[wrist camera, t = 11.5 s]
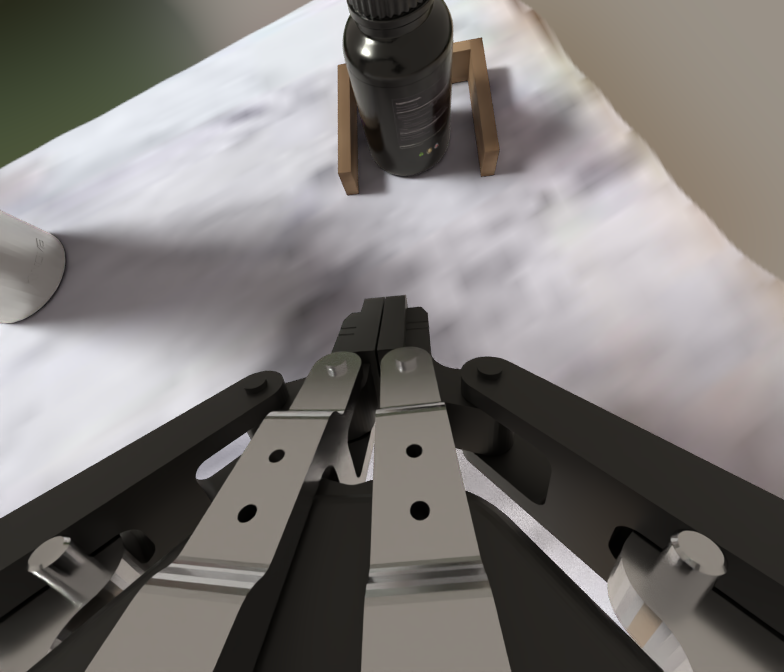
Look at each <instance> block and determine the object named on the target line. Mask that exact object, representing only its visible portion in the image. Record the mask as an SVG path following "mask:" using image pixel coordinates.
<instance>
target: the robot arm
mask: <svg viewBox="0 0 784 672" xmlns="http://www.w3.org/2000/svg"><path fill="white" fill-rule="evenodd" d="M64 268H65V252H64V249H63V246H62V244H61V243H60V241H59V240H58V239H57V238H56V237H55V236H53V235H52V234H50V233H48V232H46V231H44V230H41V229H39V228H37V227H35V226H33V225H31V224H29V223H27V222H24V221H22V220H20V219H18V218H16V217H14V216H12V215H10V214H7V213H5V212H3V211H1V210H0V323H14V322H17V321H20V320H23V319H25V318H27V317H29V316H31V315H32V314H34V313H35V312H36V311H38V310H39V309H40V308H41V307H42V306H43V305H44V304H45V303H46V302H47V301H48V300H49V299H50V298H51V296H52V295H53V294H54V292H55V291H56V289H57V287H58V285H59V283H60V281H61V279H62V276H63V273H64ZM338 335H339V336H338V337H337V340H336V342H335V345H334V347H333V350H332V353H331V354H328V355H326V356H324V357H322V358H321V359H319V360H318V361H317V362H316V363H315V364H314V366H313V367H312V369H311V371H310V373H309V375H308V376H307V377H306V378H303V379H299V380H295V381H292V382H288V383H285V382H284V379H283V377H282V375H281V374H280V373H278V372H275V371H262V372H258V373H255V374H252V375H249V376H247V377H246V378H244V379H242V380H240V381H238V382H237V383H235V384H233V385H232V386H230V387H228V388H226V389H225V390H223V391H221V392H219V393H218V394H216V395H214V396H212V397H211V398H209V399H207V400H205V401H204V402H202V403H200V404H199V405H197V406H195V407H193V408H192V409H190V410H188V411H186V412H185V413H183V414H181V415H179V416H178V417H176V418H174V419H172V420H171V421H169V422H167V423H166V424H164V425H162V426H160V427H159V428H157V429H155V430H153V431H152V432H150V433H148V434H146V435H145V436H143V437H141V438H139V439H138V440H136V441H134V442H133V443H131V444H129V445H127V446H126V447H124V448H122V449H120V450H119V451H117V452H115V453H113V454H112V455H110V456H108V457H106V458H105V459H103V460H101V461H99V462H98V463H96V464H94V465H93V466H91V467H89V468H87V469H86V470H84V471H82V472H80V473H79V474H77V475H75V476H73V477H72V478H70V479H68V480H66V481H65V482H63V483H61V484H60V485H58V486H56V487H54V488H53V489H51V490H49V491H47V492H46V493H44V494H42V495H40V496H39V497H37V498H35V499H33V500H32V501H30V502H28V503H27V504H25V505H23V506H21V507H20V508H18V509H16V510H14V511H13V512H11V513H9V514H7V515H6V516H4V517H2V518H0V672H784V500H783V499H781V498H779V497H777V496H775V495H773V494H771V493H769V492H767V491H765V490H763V489H761V488H759V487H757V486H755V485H753V484H751V483H749V482H747V481H745V480H743V479H741V478H739V477H737V476H735V475H733V474H731V473H729V472H727V471H725V470H723V469H721V468H719V467H717V466H715V465H713V464H711V463H709V462H707V461H705V460H703V459H702V458H700V457H698V456H696V455H694V454H692V453H690V452H688V451H686V450H684V449H682V448H680V447H678V446H676V445H674V444H672V443H670V442H668V441H666V440H664V439H662V438H660V437H658V436H656V435H654V434H652V433H650V432H648V431H646V430H644V429H642V428H640V427H638V426H636V425H634V424H632V423H630V422H628V421H626V420H624V419H622V418H620V417H618V416H616V415H614V414H612V413H610V412H608V411H606V410H604V409H602V408H600V407H598V406H596V405H594V404H592V403H590V402H588V401H586V400H584V399H582V398H580V397H578V396H576V395H574V394H572V393H570V392H568V391H566V390H564V389H562V388H560V387H558V386H556V385H555V384H553V383H551V382H549V381H547V380H545V379H543V378H541V377H539V376H537V375H535V374H533V373H531V372H529V371H527V370H525V369H523V368H521V367H519V366H517V365H515V364H513V363H511V362H509V361H507V360H504V359H501V358H497V357H478V358H474V359H472V360H470V361H468V362H466V363H465V364H464V365H463V367H462V368H461V370H460V369H453V368H449V367H445V366H443V365H441V364H439V363H437V362H436V361H435V360H434V359H433V357H432V355H431V347H430V336H429V324H428V313H427V312H426V311H425V310H424V309H423V308H422V307H414V308H408V306H407V298H406V295H401V296H390V297H386V299H385V297H379V298H368V299H365V300H364V303H363V307H362V310H361V312H357V313H351V314H350V315H349V316H348V317H347V318H346V319H345V320H344V321H343V324H342V327H341V330H340V332H339V334H338ZM246 432H247V433H248V435H249V437H250V439H251V441H250V443H249V444H248V446H247V447H246V449H245V451H244V452H243V454H242V455H240V456H239V457H238V458H236V459H235V460H233V461H232V462H231V463H229V464H228V465H227V466H225V467H224V468H222V469H221V470H220V471H218V472H217V473H216V474H214V475H213V476H211V477H209V478H207V479H204V480H198V479H196V472H197V469H198V468H199V466H200V465H201V464H202V463H203V462H204V461H205V460H207V459H208V458H209V457H211V456H212V455H214V454H215V453H217V452H218V451H220V450H221V449H223V448H224V447H225V446H227V445H228V444H230V443H231V442H233V441H234V440H236V439H237V438H239V437H240V436H241V435H243V434H244V433H246ZM373 445H374V469H373V480H370V481H367V482H365V481H366V477H367V472H368V468H369V463H370V459H371V454H372V450H373ZM455 448H457V449H461V450H462V451H463V454H464V456H465V458H466V459H467V460H468V461H469V462H470V463H471V464H472V465H473V466H475V467H476V468H477V469H478V470H479V471H480V472H481V473H483V474H484V475H485V476H486V477H487V478H488V479H489V480H491V481H492V482H493V483H494V484H495V485H496V486H497V487H499V488H500V489H501V490H502V491H503V492H504V493H505V494H507V495H508V496H509V497H510V498H511V499H512V500H513V501H515V502H516V503H517V504H518V505H519V506H520V507H521V508H523V509H524V510H525V511H526V512H527V513H528V514H529V515H531V516H532V517H533V518H534V519H535V520H536V521H537V522H539V523H540V524H541V525H542V526H543V527H544V528H545V529H547V530H548V531H549V532H550V533H551V534H552V535H553V536H555V537H556V538H557V539H558V540H559V541H560V542H561V543H563V544H564V545H565V546H566V547H567V548H568V549H569V550H571V551H572V552H573V553H574V554H575V555H576V556H577V557H579V558H580V559H581V560H582V561H583V562H584V563H585V564H587V565H588V566H589V567H590V568H591V569H592V570H593V571H595V572H596V573H597V574H598V575H599V576H600V577H601V578H603V579H604V580H605V581H606V582H607V583H608V584H607V590H608V596H609V600H610V603H611V606H612V608H613V611H614V613H615V615H616V616H617V618H618V620H619V621H620V623H621V624H622V626H623V627H624V628H625V630H626V631H627V632H628V633H629V634H630V636H631V637H632V638H633V639H634V640H635V641H636V642H637V643H638V645H639V646H640V647H641V648H642V649H643V650H642V649H641V648H640V647H639V646H638V645H637V644H636V643H635V642H634V641H633V640H632V639H631V638H630V637H629V636H628V635H627V634H626V633H625V632H624V631H623V630H622V629H621V628H620V627H619V626H618V625H617V624H616V623H615V622H614V621H613V620H612V619H611V618H610V617H609V616H608V615H607V614H606V613H605V612H604V611H603V610H602V609H601V608H600V607H599V606H598V605H597V604H596V603H595V602H594V601H593V600H592V599H591V598H590V597H589V596H588V595H587V594H586V593H585V592H584V591H583V590H582V589H581V588H580V587H579V586H578V585H577V584H576V583H575V582H574V581H573V580H572V579H571V578H570V577H569V576H568V575H567V574H566V573H565V572H564V571H563V570H562V569H561V568H560V567H559V566H558V565H556V564H555V563H554V562H553V561H552V560H551V559H550V558H549V557H548V556H547V555H546V554H545V553H544V552H543V551H542V550H541V549H540V548H539V547H538V546H537V545H536V544H535V543H534V542H533V541H532V540H531V539H530V538H529V537H528V536H527V535H526V534H525V533H524V532H523V531H522V530H521V529H520V528H519V527H518V526H517V525H516V524H515V523H514V522H513V521H512V520H511V519H510V518H509V517H508V516H507V515H506V514H504V513H503V512H502V511H500V510H499V509H498V508H497V507H495V506H494V505H492V504H491V503H489V502H488V501H486V500H484V499H483V498H481V497H479V496H477V495H475V494H473V493H471V492H468V491H465V488H464V484H463V480H462V475H461V471H460V467H459V462H458V458H457V454H456V449H455Z"/></svg>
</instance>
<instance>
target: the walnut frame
mask: <svg viewBox="0 0 784 672" xmlns="http://www.w3.org/2000/svg"><path fill="white" fill-rule="evenodd" d="M462 81H468V84H469V92H470V99H471V106H472V114H473V121H474V128H475V136H476V143H477V150H478V158H479V165H480V172H481V177H482V176H490V175H494V173H495V168H496V164H497V159H498V155H499V150H500V149H499V143H498V136H497V130H496V124H495V117H494V111H493V104H492V98H491V92H490V85H489V79H488V73H487V66H486V60H485V54H484V47H483V41H482V38H477V39H471V40H466V41H461V42H456V43H453V63H452V83H456V82H462ZM338 175H339V177H340V179H341V182H342V184H343V187H344V189H345V191H346V194H347V195H352V194H359V185H358V140H357V103H356V99H355V96H354V92H353V88H352V84H351V81H350V77H349V73H348V70H347V66H346V64H341V65H338Z"/></svg>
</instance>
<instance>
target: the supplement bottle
mask: <svg viewBox="0 0 784 672" xmlns="http://www.w3.org/2000/svg"><path fill="white" fill-rule="evenodd" d="M347 4H348V9H349V13H350V16H349V18H348V20H347V22H346V25H345V29H344V33H343V54H344V58H345V62H346V66H347V70H348V73H349V77H350V81H351V84H352V88H353V92H354V96H355V99H356V103H357V107H358V110H359V114H360V118H361V121H362V125H363V129H364V132H365V136H366V140H367V143H368V146H369V150H370V153H371V155H372V158H373V159H374V161H375V162H376V164H377V165H378V166H379V167H380V168H382V169H383V170H385V171H387V172H389V173H391V174H394V175H399V176H411V175H416V174H420V173H422V172H425V171H427V170H428V169H430V168H432V167H433V166H434V165H435V164H437V163H438V162H439V161H440V159H441V158H442V157H443V155H444V154H445V152H446V150H447V147H448V144H449V139H450V122H451V92H452V63H453V21H452V17H451V14H450V11H449V9H448V7H447V5H446V3H445V2H444V0H347Z"/></svg>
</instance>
